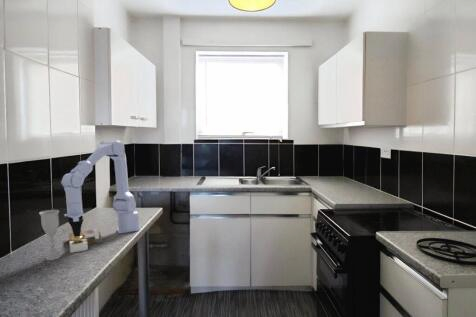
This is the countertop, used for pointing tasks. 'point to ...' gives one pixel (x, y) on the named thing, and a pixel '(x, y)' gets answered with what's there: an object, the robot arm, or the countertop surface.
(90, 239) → the socket block
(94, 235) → the bar
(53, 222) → the chalice
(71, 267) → the countertop surface
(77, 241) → the peg
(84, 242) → the white block with hole
